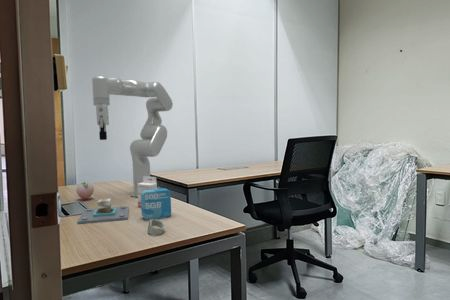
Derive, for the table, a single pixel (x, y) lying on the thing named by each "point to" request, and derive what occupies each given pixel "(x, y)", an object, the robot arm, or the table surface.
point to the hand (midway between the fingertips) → (103, 139)
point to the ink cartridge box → (146, 186)
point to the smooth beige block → (104, 206)
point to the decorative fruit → (85, 190)
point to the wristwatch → (154, 230)
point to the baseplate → (104, 215)
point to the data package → (155, 203)
